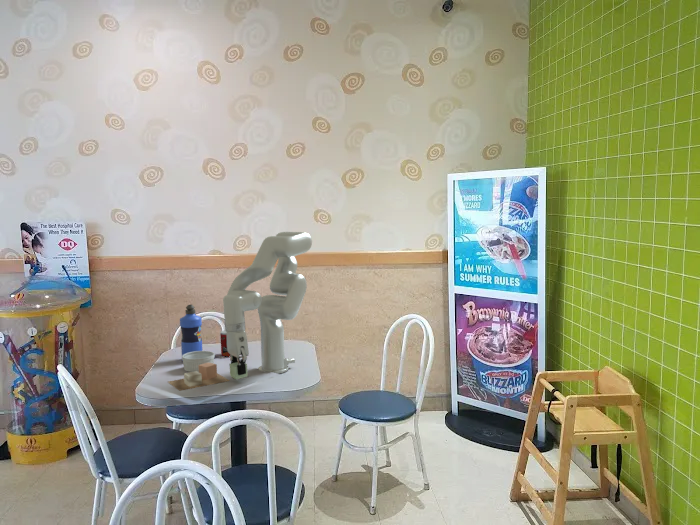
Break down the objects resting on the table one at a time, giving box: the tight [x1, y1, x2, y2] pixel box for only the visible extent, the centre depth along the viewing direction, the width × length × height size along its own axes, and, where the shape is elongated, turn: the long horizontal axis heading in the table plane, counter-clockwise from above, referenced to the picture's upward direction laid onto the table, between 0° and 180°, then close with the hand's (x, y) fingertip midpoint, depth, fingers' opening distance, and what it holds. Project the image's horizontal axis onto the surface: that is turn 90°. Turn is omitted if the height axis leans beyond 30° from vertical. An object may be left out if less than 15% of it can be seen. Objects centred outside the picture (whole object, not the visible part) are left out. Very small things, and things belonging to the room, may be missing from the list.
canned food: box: [219, 329, 230, 357], centre depth 276 cm, size 8×8×11 cm
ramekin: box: [181, 350, 215, 373], centre depth 251 cm, size 13×13×7 cm
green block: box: [229, 362, 249, 380], centre depth 231 cm, size 5×5×5 cm
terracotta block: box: [198, 362, 218, 380], centre depth 237 cm, size 5×5×5 cm
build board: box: [167, 371, 231, 391], centre depth 232 cm, size 20×14×5 cm
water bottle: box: [179, 304, 203, 362], centre depth 267 cm, size 9×9×25 cm
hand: (238, 371), depth 231 cm, fingers closed on green block, 5 cm apart
